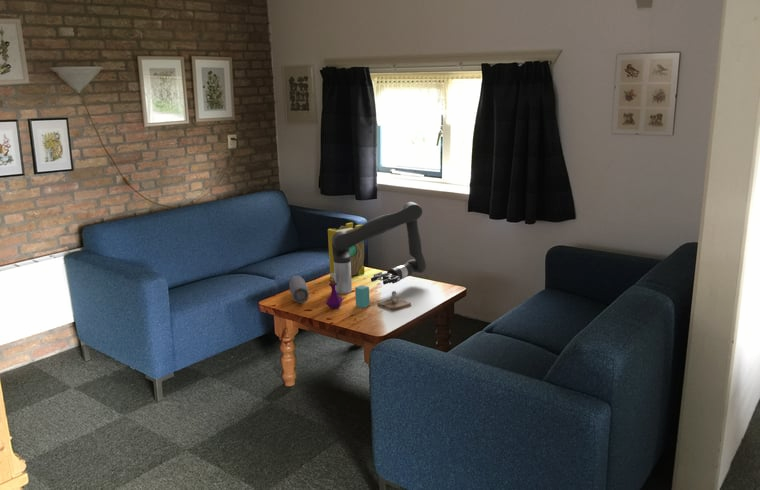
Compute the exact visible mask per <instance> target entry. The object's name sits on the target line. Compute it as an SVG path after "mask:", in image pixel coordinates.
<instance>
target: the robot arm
mask: <svg viewBox="0 0 760 490" xmlns="http://www.w3.org/2000/svg"><path fill="white" fill-rule="evenodd" d="M422 214H423V209H422V207H421V206H420V205H419V204H418V203H416V202H413V201H409V202H406V203H405V204H404V205H403V207H402V209H401V210H399V211H397V212H393V213H388V214H383V215H380V216H376V217H374V218H372V219H369V220H368V221H365V222H364V223H363V224H361V225H362V226H361V227H359V228H358V229H356V230H354V231H351V232H348V233H345V232H342V231H339V232H336V233H335V234H334V235H333V237H332V251H333V259H334V273H335V274H336V275H335V276H334V278H333V280H335V283H337V285H336V286H335V290H336V292H337V294H338V295H340V294H341V295H344V294H349V293H351V292H352V289H353V288H352V286H353V285H352V276H351V260H350V252H349V248H350V247H352V246H354V245H356V244H357V243H359V242H362V241H363V242H364V241H367V240H369V239H371V238H375V237H377V236H379V235H382V234H384V233H386V232H389V231H390V230H392V229H393V230H394V229H395V228H397V227H399V226H401V225H405V226H406V231H407V232H406V233H407V239H408V252H409V256H411V257H412V258H413V259H409V260H407V261H406V262H405V263H404V264H401V265H398V266H394V267H392V268H389V269H388V270H387V272H384V273H383V272H382V271H380V272H377V273H374V274H373V276H372V277H370V282H372V283H373V282H377V281H382V284H383V285H387V284H396V283H398V282H401V281H402V280H404V279H405V278H407V277H411V275H413V274H414V273H418V274H423V273H425V271H426V269H427V262H426V259H425V256H424V253H423V249H422V239H421V236H420V230H419V227H418V219H420V217H422Z"/></svg>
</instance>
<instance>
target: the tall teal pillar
mask: <svg viewBox="0 0 760 490" xmlns="http://www.w3.org/2000/svg"><path fill="white" fill-rule="evenodd" d="M354 293H355V294H354V295H355V307H358V308H361V309H364V308H367V307H369V306H371V305H370V303H371V302H370V287H369V286H367V285H363V284H361V285H358V286H355V288H354Z"/></svg>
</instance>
